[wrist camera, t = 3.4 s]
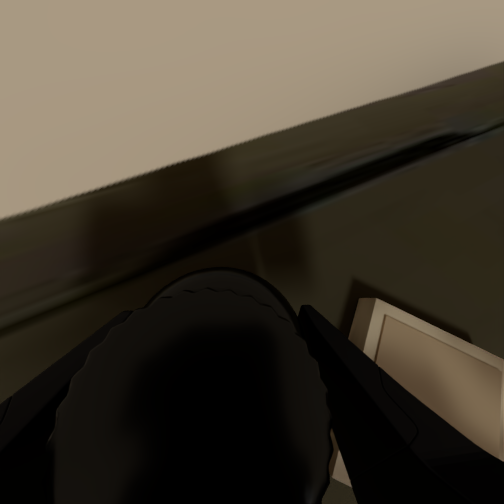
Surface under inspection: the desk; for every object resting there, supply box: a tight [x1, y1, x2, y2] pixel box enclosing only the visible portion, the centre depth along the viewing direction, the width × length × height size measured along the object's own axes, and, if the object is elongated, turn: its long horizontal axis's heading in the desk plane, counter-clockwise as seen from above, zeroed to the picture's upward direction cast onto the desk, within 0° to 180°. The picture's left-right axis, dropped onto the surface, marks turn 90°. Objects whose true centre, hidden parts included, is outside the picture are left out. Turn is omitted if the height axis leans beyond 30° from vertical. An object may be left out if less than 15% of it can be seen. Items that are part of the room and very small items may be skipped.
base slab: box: [329, 298, 504, 487], centre depth 14 cm, size 12×12×2 cm
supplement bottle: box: [41, 267, 334, 504], centre depth 9 cm, size 7×7×12 cm
